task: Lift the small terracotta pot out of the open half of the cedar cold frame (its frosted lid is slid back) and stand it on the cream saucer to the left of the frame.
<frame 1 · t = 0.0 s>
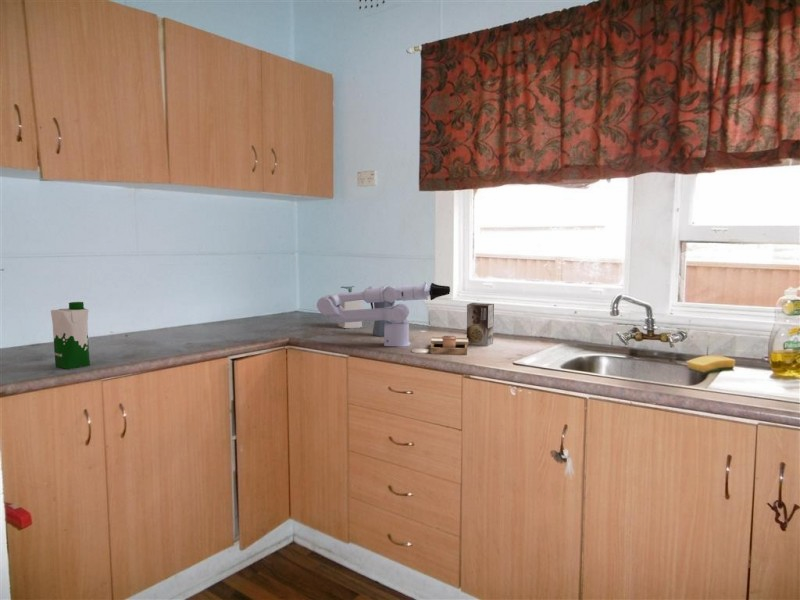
hand: (449, 290, 207), 22 cm above the worktop, tool horizontal, fingers open, 7 cm apart
lid: (449, 348, 206), resting on cold frame
pot: (448, 351, 197), resting on cold frame
coffee box: (479, 345, 214), on the worktop
saucer: (420, 352, 198), on the worktop
moka pot: (382, 335, 233), on the worktop
soap bottle: (349, 327, 254), on the worktop
cold frame: (449, 350, 201), on the worktop
milk carton: (72, 366, 173), on the worktop
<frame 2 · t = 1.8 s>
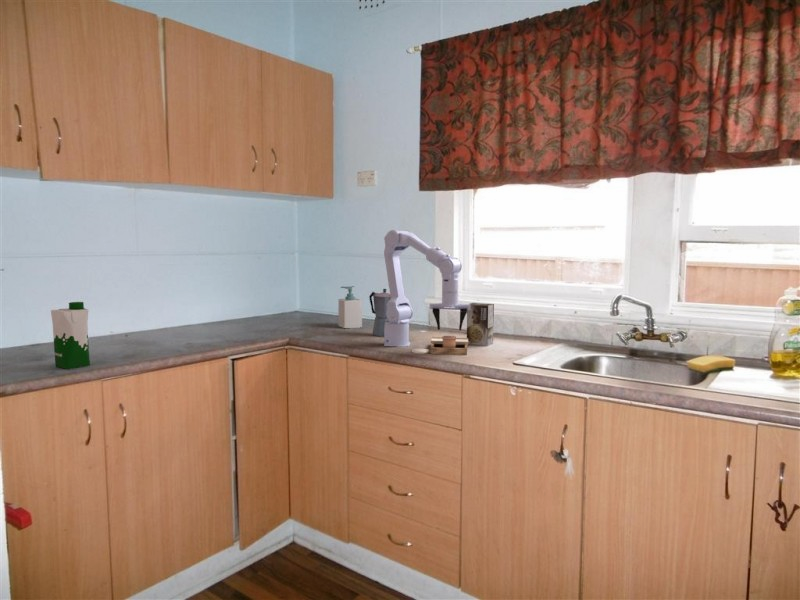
hand: (449, 329, 196), 9 cm above the worktop, tool pointing down, fingers open, 7 cm apart
nothing on the worktop moved.
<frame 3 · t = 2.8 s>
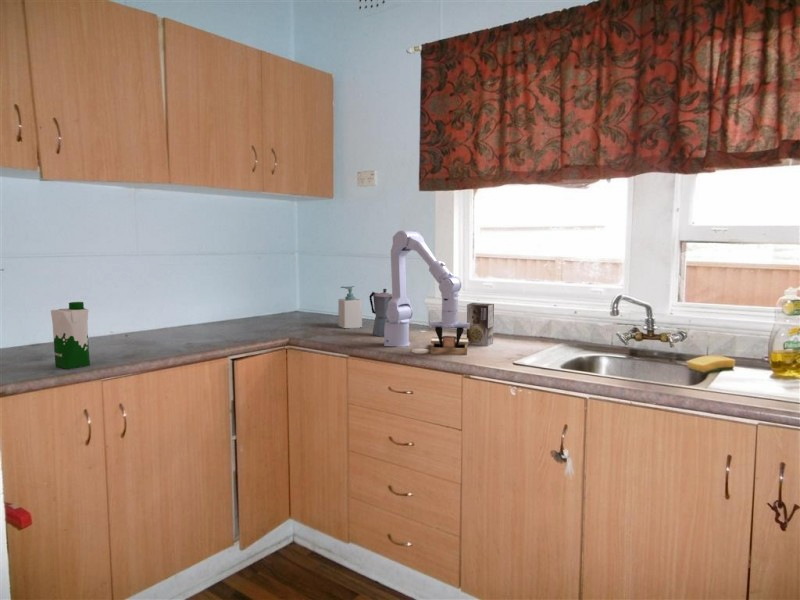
hand: (449, 348, 197), 2 cm above the worktop, tool pointing down, fingers closed on pot, 5 cm apart
pot: (448, 351, 197), resting on cold frame, touching gripper
everything else where it was.
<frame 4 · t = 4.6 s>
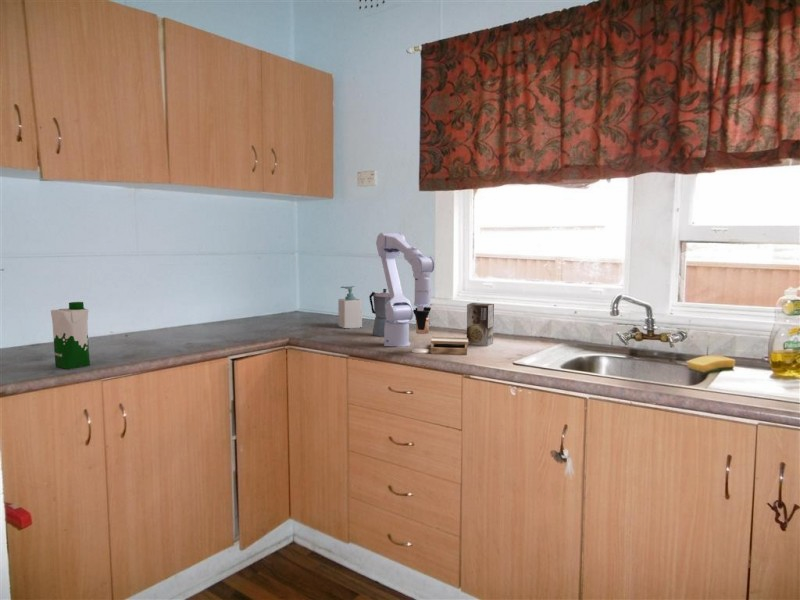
hand: (422, 328, 197), 9 cm above the worktop, tool pointing down, fingers closed on pot, 5 cm apart
pot: (422, 332, 197), point 7 cm above the worktop, touching gripper
everything else where it was.
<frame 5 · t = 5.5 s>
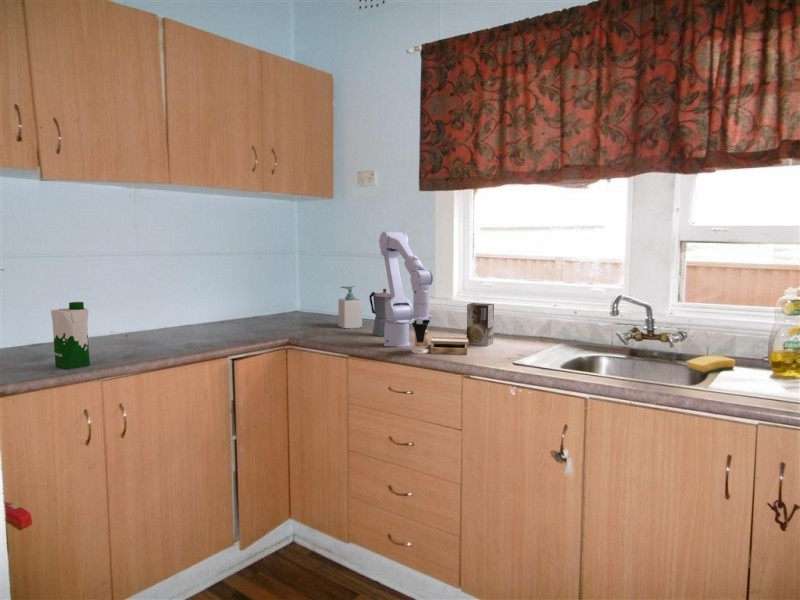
hand: (420, 340, 197), 4 cm above the worktop, tool pointing down, fingers closed on pot, 5 cm apart
pot: (421, 345, 197), point 3 cm above the worktop, touching gripper
everything else where it was.
when the fingers open (3 cm above the worktop, at t = 6.3 s): pot stays where it is, resting on saucer.
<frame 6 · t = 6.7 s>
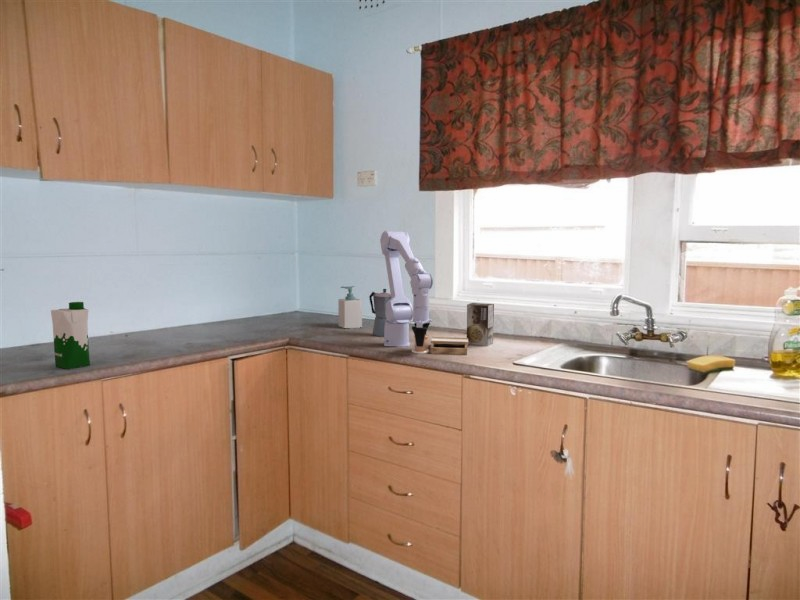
hand: (420, 344, 197), 3 cm above the worktop, tool pointing down, fingers open, 7 cm apart
pot: (420, 350, 198), point 1 cm above the worktop, touching saucer
everything else where it was.
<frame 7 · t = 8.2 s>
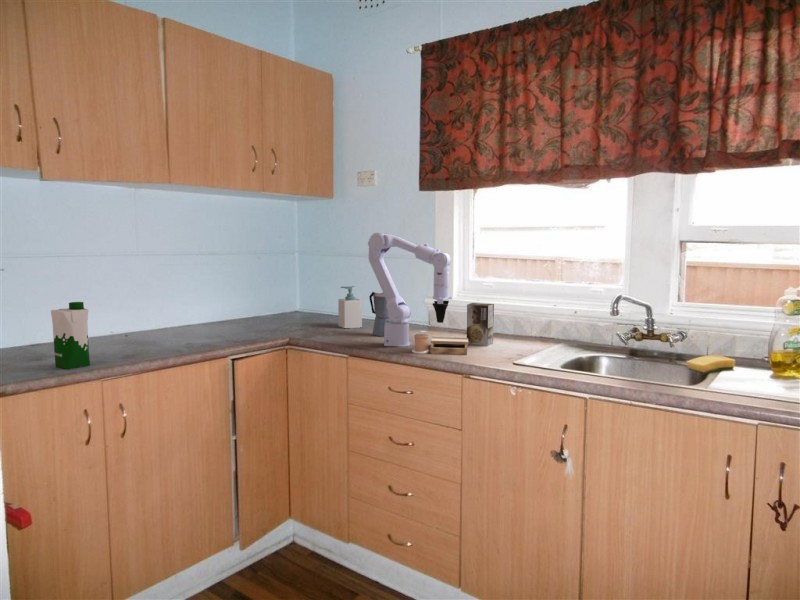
hand: (440, 321, 205), 10 cm above the worktop, tool pointing down, fingers open, 7 cm apart
nothing on the worktop moved.
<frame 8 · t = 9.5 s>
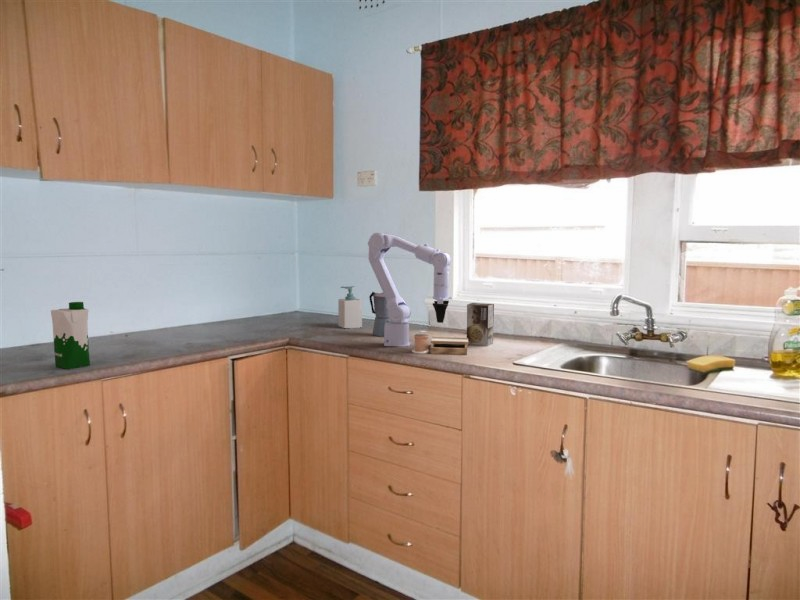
hand: (440, 321, 205), 10 cm above the worktop, tool pointing down, fingers open, 7 cm apart
nothing on the worktop moved.
at the end: pot 0.1 cm off-centre on the saucer, point 0.8 cm above the saucer's base; pot tilted 0°; pot touching saucer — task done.
